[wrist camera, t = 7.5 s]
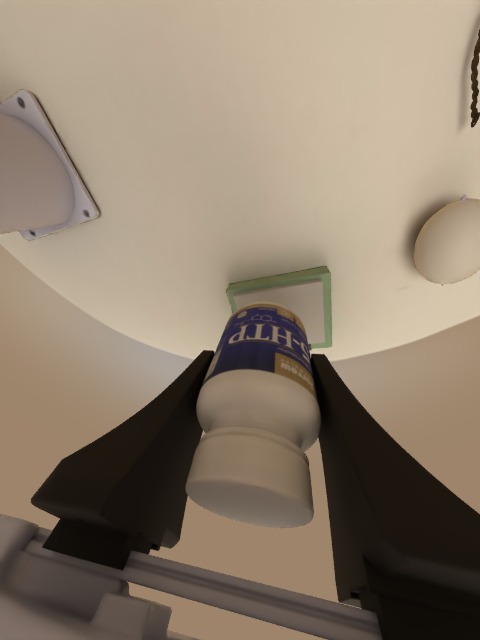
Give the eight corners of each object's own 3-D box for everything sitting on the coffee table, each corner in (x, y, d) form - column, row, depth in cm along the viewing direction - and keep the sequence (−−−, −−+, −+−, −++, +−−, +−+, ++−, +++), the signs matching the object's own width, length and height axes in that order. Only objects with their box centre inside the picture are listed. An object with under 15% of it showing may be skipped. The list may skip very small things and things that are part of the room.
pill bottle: (317, 308, 12) (383, 506, 4) (292, 367, 15) (306, 544, 7) (230, 290, 12) (155, 450, 5) (222, 352, 15) (170, 508, 8)
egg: (398, 281, 17) (427, 302, 14) (408, 203, 14) (447, 207, 11) (455, 271, 16) (500, 291, 13) (479, 183, 13) (545, 182, 10)
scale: (247, 345, 23) (245, 358, 22) (229, 283, 19) (224, 293, 18) (328, 337, 21) (333, 351, 19) (326, 265, 17) (332, 274, 15)
